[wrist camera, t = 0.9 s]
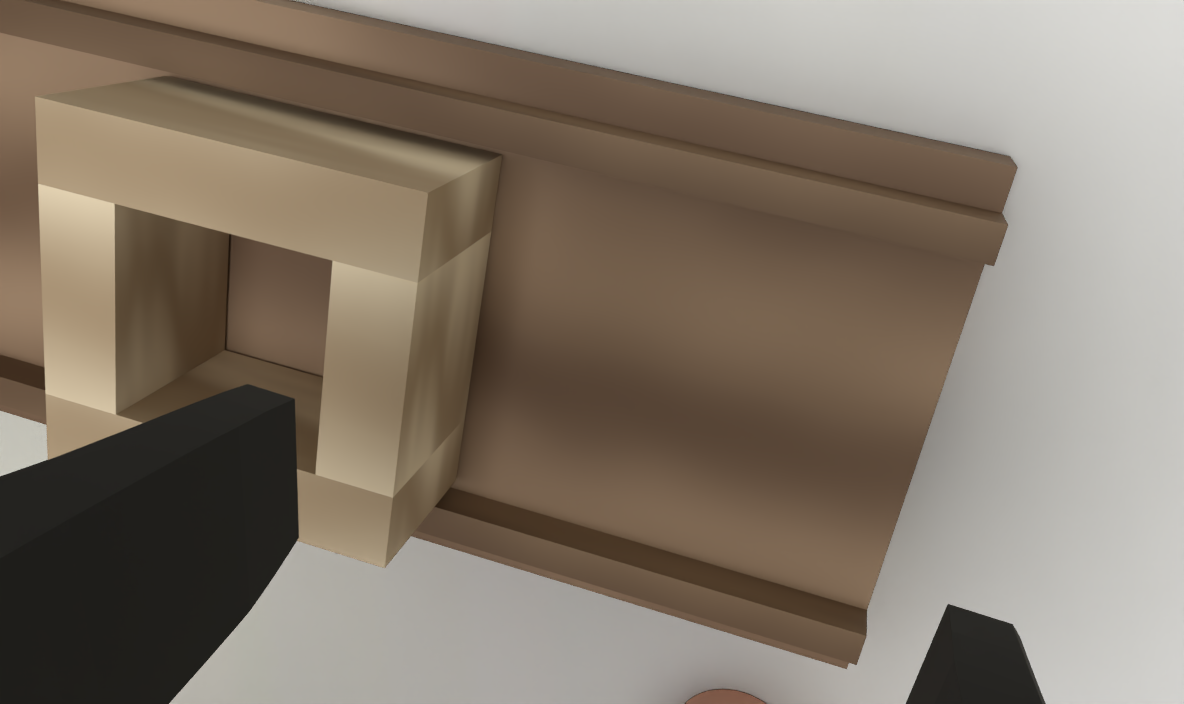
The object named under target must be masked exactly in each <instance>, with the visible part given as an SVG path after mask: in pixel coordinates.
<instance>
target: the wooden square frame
mask: <svg viewBox="0 0 1184 704" xmlns="http://www.w3.org/2000/svg"><path fill="white" fill-rule="evenodd" d="M35 111H36V139H37V168H38V196H39V224H40V252H41V280H42V309H43V337H44V365H45V393H46V421H47V450H48V460H49V459H52V458H55V457H57V456H60V455H63V454H65V453H68V452H70V451H73V450H75V449H78V448H81V447H83V446H86V445H88V444H91V443H93V442H96V441H99V440H101V439H104V438H106V437H109V436H111V435H114V434H117V433H119V432H122V431H124V430H127V429H129V428H132V427H135V426H137V425H140V424H142V423H145V422H147V421H150V420H152V419H155V418H157V417H160V416H162V415H165V414H167V413H170V412H172V411H175V410H177V409H180V408H182V407H185V406H188V405H190V404H193V403H195V402H198V401H201V400H203V399H206V398H209V397H211V396H214V395H217V394H219V393H222V392H225V391H228V390H231V389H234V388H237V387H240V386H243V385H246V384H250V385H253V386H256V387H259V388H262V389H265V390H269V391H272V392H275V393H278V394H281V395H285V396H288V397H291V398H294V399H295V417H296V452H297V486H298V521H299V538H298V540H297V541H299V542H303V543H306V544H309V545H312V546H315V547H319V548H322V549H325V550H328V551H331V552H335V553H338V554H341V555H344V556H347V557H351V558H354V559H357V560H360V561H364V562H367V563H370V564H373V565H376V566H380V567H383V568H385V567H386V566H387V565H388V563H389V562H390V561H391V560H392V559H393V557H394V556H395V555H396V554H397V552H398V551H399V550H400V549H401V547H402V546H403V545H404V544H405V542H406V541H407V540H408V539H409V538H410V536H411V535H412V534H413V533H414V531H415V530H416V529H417V528H418V526H419V525H420V524H421V523H422V522H423V520H424V519H425V518H426V517H427V515H428V514H429V513H430V512H431V510H432V509H433V508H434V507H435V506H436V504H437V503H438V502H439V501H440V499H441V498H442V497H443V496H444V494H445V493H446V492H447V491H448V489H449V488H450V487H451V486H452V485H453V483H454V482H455V481H456V477H457V470H458V463H459V456H460V449H461V442H462V435H463V428H464V421H465V414H466V407H467V400H468V393H469V386H470V379H471V372H472V365H473V358H474V351H475V344H476V337H477V330H478V322H479V315H480V308H481V301H482V294H483V287H484V280H485V273H486V266H487V259H488V252H489V245H490V238H491V231H492V224H493V217H494V210H495V203H496V196H497V189H498V182H499V175H500V168H501V161H502V155H501V154H497V153H493V152H489V151H484V150H480V149H476V148H472V147H467V146H463V145H459V144H455V143H450V142H446V141H442V140H438V139H433V138H429V137H425V136H421V135H416V134H412V133H408V132H404V131H399V130H395V129H391V128H387V127H382V126H378V125H374V124H370V123H365V122H361V121H357V120H353V119H349V118H344V117H340V116H336V115H332V114H327V113H323V112H319V111H315V110H310V109H306V108H302V107H298V106H293V105H289V104H285V103H281V102H276V101H272V100H268V99H264V98H259V97H255V96H251V95H247V94H242V93H238V92H234V91H230V90H225V89H221V88H217V87H213V86H208V85H204V84H200V83H196V82H191V81H187V80H183V79H179V78H174V77H170V76H161V77H155V78H149V79H142V80H136V81H130V82H123V83H117V84H111V85H104V86H98V87H92V88H85V89H79V90H73V91H66V92H60V93H54V94H47V95H41V96H35ZM229 234H232V235H236V236H240V237H244V238H248V239H252V240H255V241H259V242H263V243H267V244H271V245H275V246H278V247H282V248H286V249H290V250H294V251H298V252H301V253H305V254H309V255H313V256H317V257H320V258H324V259H328V260H332V261H333V262H332V274H331V287H330V299H329V311H328V324H327V336H326V349H325V361H324V373H323V378H322V377H318V376H315V375H311V374H308V373H304V372H300V371H297V370H293V369H290V368H286V367H283V366H279V365H276V364H272V363H269V362H265V361H261V360H258V359H254V358H251V357H247V356H244V355H240V354H237V353H233V352H230V351H226V350H225V327H226V302H227V276H228V251H229Z"/></svg>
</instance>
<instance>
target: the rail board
mask: <svg viewBox="0 0 1184 704" xmlns="http://www.w3.org/2000/svg"><path fill="white" fill-rule="evenodd" d="M161 76H170V77H174V78H179V79H183V80H187V81H191V82H196V83H200V84H204V85H208V86H213V87H217V88H221V89H225V90H230V91H234V92H238V93H242V94H247V95H251V96H255V97H259V98H264V99H268V100H272V101H276V102H281V103H285V104H289V105H293V106H298V107H302V108H306V109H310V110H315V111H319V112H323V113H327V114H332V115H336V116H340V117H344V118H349V119H353V120H357V121H361V122H365V123H370V124H374V125H378V126H382V127H387V128H391V129H395V130H399V131H404V132H408V133H412V134H416V135H421V136H425V137H429V138H433V139H438V140H442V141H446V142H450V143H455V144H459V145H463V146H467V147H472V148H476V149H480V150H484V151H489V152H493V153H497V154H501V155H502V161H501V168H500V175H499V182H498V189H497V196H496V203H495V210H494V217H493V224H492V231H491V238H490V245H489V252H488V259H487V266H486V273H485V280H484V287H483V294H482V301H481V308H480V315H479V322H478V330H477V337H476V344H475V351H474V358H473V365H472V372H471V379H470V386H469V393H468V400H467V407H466V414H465V421H464V428H463V435H462V442H461V449H460V456H459V463H458V470H457V477H456V481H455V482H454V483H453V485H452V486H451V487H450V488H449V489H448V491H447V492H446V493H445V494H444V496H443V497H442V498H441V499H440V501H439V502H438V503H437V504H436V506H435V507H434V508H433V509H432V510H431V512H430V513H429V514H428V515H427V517H426V518H425V519H424V520H423V522H422V523H421V524H420V525H419V526H418V528H417V529H416V530H415V531H414V533H413V534H412V535H411V536H413V537H416V538H419V539H423V540H426V541H429V542H432V543H436V544H439V545H442V546H446V547H449V548H452V549H455V550H459V551H462V552H465V553H468V554H472V555H475V556H478V557H482V558H485V559H488V560H491V561H495V562H498V563H501V564H505V565H508V566H511V567H514V568H518V569H521V570H524V571H527V572H531V573H534V574H537V575H541V576H544V577H547V578H550V579H554V580H557V581H560V582H563V583H567V584H570V585H573V586H577V587H580V588H583V589H586V590H590V591H593V592H596V593H599V594H603V595H606V596H609V597H613V598H616V599H619V600H622V601H626V602H629V603H632V604H635V605H639V606H642V607H645V608H649V609H652V610H655V611H658V612H662V613H665V614H668V615H672V616H675V617H678V618H681V619H685V620H688V621H691V622H694V623H698V624H701V625H704V626H708V627H711V628H714V629H717V630H721V631H724V632H727V633H730V634H734V635H737V636H740V637H744V638H747V639H750V640H753V641H757V642H760V643H763V644H766V645H770V646H773V647H776V648H780V649H783V650H786V651H789V652H793V653H796V654H799V655H802V656H806V657H809V658H812V659H816V660H819V661H822V662H825V663H829V664H832V665H835V666H839V667H842V668H845V669H847V667H848V664H849V663H852V664H855V665H857V662H858V659H859V656H860V653H861V650H862V647H863V645H864V642H865V639H866V633H867V608H868V605H869V602H870V599H871V596H872V593H873V590H874V587H875V584H876V581H877V579H878V576H879V573H880V570H881V567H882V564H883V561H884V558H885V555H886V552H887V549H888V546H889V543H890V540H891V537H892V534H893V532H894V529H895V526H896V523H897V520H898V517H899V514H900V511H901V508H902V505H903V502H904V499H905V496H906V493H907V490H908V488H909V485H910V482H911V479H912V476H913V473H914V470H915V467H916V464H917V461H918V458H919V455H920V452H921V449H922V446H923V443H924V441H925V438H926V435H927V432H928V429H929V426H930V423H931V420H932V417H933V414H934V411H935V408H936V405H937V402H938V399H939V397H940V394H941V391H942V388H943V385H944V382H945V379H946V376H947V373H948V370H949V367H950V364H951V361H952V358H953V355H954V352H955V350H956V347H957V344H958V341H959V338H960V335H961V332H962V329H963V326H964V323H965V320H966V317H967V314H968V311H969V308H970V306H971V303H972V300H973V297H974V294H975V291H976V288H977V285H978V282H979V279H980V276H981V273H982V270H983V267H984V264H987V265H992V266H994V264H995V262H996V259H997V256H998V253H999V250H1000V247H1001V244H1002V241H1003V238H1004V235H1005V232H1006V230H1007V227H1008V224H1007V222H1006V220H1005V218H1004V216H1003V214H1002V212H1003V209H1004V206H1005V203H1006V200H1007V197H1008V194H1009V191H1010V188H1011V185H1012V182H1013V179H1014V176H1015V173H1016V170H1017V168H1018V167H1017V166H1016V164H1015V163H1014V161H1013V160H1012V159H1011V157H1010V156H1005V155H1001V154H996V153H992V152H987V151H982V150H978V149H973V148H969V147H964V146H959V145H955V144H950V143H946V142H941V141H936V140H932V139H927V138H922V137H918V136H913V135H909V134H904V133H899V132H895V131H890V130H886V129H881V128H876V127H872V126H867V125H863V124H858V123H853V122H849V121H844V120H840V119H835V118H830V117H826V116H821V115H817V114H812V113H807V112H803V111H798V110H793V109H789V108H784V107H780V106H775V105H770V104H766V103H761V102H757V101H752V100H747V99H743V98H738V97H734V96H729V95H724V94H720V93H715V92H711V91H706V90H701V89H697V88H692V87H688V86H683V85H678V84H674V83H669V82H664V81H660V80H655V79H651V78H646V77H641V76H637V75H632V74H628V73H623V72H618V71H614V70H609V69H605V68H600V67H595V66H591V65H586V64H582V63H577V62H572V61H568V60H563V59H559V58H554V57H549V56H545V55H540V54H535V53H531V52H526V51H522V50H517V49H512V48H508V47H503V46H499V45H494V44H489V43H485V42H480V41H476V40H471V39H466V38H462V37H457V36H453V35H448V34H443V33H439V32H434V31H430V30H425V29H420V28H416V27H411V26H406V25H402V24H397V23H393V22H388V21H383V20H379V19H374V18H370V17H365V16H360V15H356V14H351V13H347V12H342V11H337V10H333V9H328V8H324V7H319V6H314V5H310V4H305V3H301V2H296V1H291V0H0V411H4V412H7V413H10V414H13V415H17V416H20V417H23V418H26V419H30V420H33V421H36V422H40V423H43V424H46V425H47V421H46V393H45V365H44V337H43V309H42V280H41V252H40V224H39V196H38V168H37V139H36V111H35V96H41V95H47V94H54V93H60V92H66V91H73V90H79V89H85V88H92V87H98V86H104V85H111V84H117V83H123V82H130V81H136V80H142V79H149V78H155V77H161ZM332 262H333V261H332V260H328V259H324V258H320V257H317V256H313V255H309V254H305V253H301V252H298V251H294V250H290V249H286V248H282V247H278V246H275V245H271V244H267V243H263V242H259V241H255V240H252V239H248V238H244V237H240V236H236V235H232V234H229V251H228V276H227V302H226V327H225V350H226V351H230V352H233V353H237V354H240V355H244V356H247V357H251V358H254V359H258V360H261V361H265V362H269V363H272V364H276V365H279V366H283V367H286V368H290V369H293V370H297V371H300V372H304V373H308V374H311V375H315V376H318V377H322V378H323V373H324V361H325V349H326V336H327V324H328V311H329V299H330V287H331V274H332Z"/></svg>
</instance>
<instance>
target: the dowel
mask: <svg viewBox="0 0 1184 704" xmlns="http://www.w3.org/2000/svg"><path fill="white" fill-rule="evenodd" d="M685 704H766V703H764V702H763V701H761V700H759V699H758V698H756V697H754V696H752V695H749V694H746V693H743V692H739V691H735V690H726V689H719V690H711V691H706V692H703V693H700V694H698V695H696V696H694V697H692V698H691V699H689V700H688V701H687V702H686V703H685Z"/></svg>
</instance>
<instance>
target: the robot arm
mask: <svg viewBox="0 0 1184 704" xmlns="http://www.w3.org/2000/svg"><path fill="white" fill-rule="evenodd" d="M298 538H299V521H298V486H297V452H296V417H295V399H294V398H291V397H288V396H285V395H281V394H278V393H275V392H272V391H269V390H265V389H262V388H259V387H256V386H253V385H250V384H246V385H243V386H240V387H237V388H234V389H231V390H228V391H225V392H222V393H219V394H217V395H214V396H211V397H209V398H206V399H203V400H201V401H198V402H195V403H193V404H190V405H188V406H185V407H182V408H180V409H177V410H175V411H172V412H170V413H167V414H165V415H162V416H160V417H157V418H155V419H152V420H150V421H147V422H145V423H142V424H140V425H137V426H135V427H132V428H129V429H127V430H124V431H122V432H119V433H117V434H114V435H111V436H109V437H106V438H104V439H101V440H99V441H96V442H93V443H91V444H88V445H86V446H83V447H81V448H78V449H75V450H73V451H70V452H68V453H65V454H63V455H60V456H57V457H55V458H52V459H49V460H46V461H43V462H40V463H38V464H35V465H32V466H29V467H26V468H23V469H21V470H18V471H15V472H12V473H9V474H6V475H3V476H1V477H0V704H169V703H170V702H171V701H172V699H173V698H174V697H175V696H176V695H177V694H178V693H179V692H180V690H181V689H182V688H183V687H184V686H185V685H186V684H187V683H188V681H189V680H190V679H191V678H192V677H193V676H194V675H195V674H196V672H197V671H198V670H199V669H200V668H201V667H202V666H203V665H204V663H205V662H206V661H207V660H208V659H209V658H210V657H211V655H212V654H213V653H214V652H215V651H216V650H217V648H218V647H219V646H220V645H221V644H222V643H223V642H224V640H225V639H226V638H227V637H228V636H229V635H230V634H231V632H232V631H233V630H234V629H235V628H236V627H237V625H238V624H239V623H240V622H241V621H242V620H243V618H244V617H245V616H246V615H247V614H248V612H249V611H250V610H251V609H252V607H253V606H254V604H255V603H256V601H257V600H258V599H259V597H260V596H261V594H262V593H263V591H264V590H265V588H266V587H267V586H268V584H269V583H270V581H271V580H272V578H273V577H274V575H275V574H276V572H277V571H278V569H279V568H280V566H281V565H282V563H283V561H284V560H285V558H286V557H287V555H288V554H289V552H290V551H291V549H292V547H293V546H294V544H295V543H296V541H297V540H298ZM906 704H1045V701H1044V699H1043V696H1042V694H1041V691H1040V689H1039V686H1038V684H1037V681H1036V679H1035V676H1034V673H1033V671H1032V668H1031V665H1030V663H1029V660H1028V658H1027V655H1026V652H1025V650H1024V647H1023V644H1022V641H1021V639H1020V636H1019V635H1018V633H1017V631H1016V629H1015V628H1014V626H1013V624H1010V623H1007V622H1004V621H1000V620H997V619H994V618H991V617H988V616H985V615H981V614H978V613H975V612H972V611H969V610H965V609H962V608H959V607H956V606H953V605H950V604H948V605H947V607H946V610H945V612H944V615H943V617H942V619H941V622H940V624H939V626H938V629H937V631H936V634H935V636H934V638H933V641H932V643H931V645H930V648H929V650H928V652H927V655H926V657H925V660H924V662H923V664H922V667H921V669H920V671H919V674H918V676H917V679H916V681H915V683H914V686H913V688H912V690H911V693H910V695H909V697H908V700H907V702H906Z"/></svg>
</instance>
